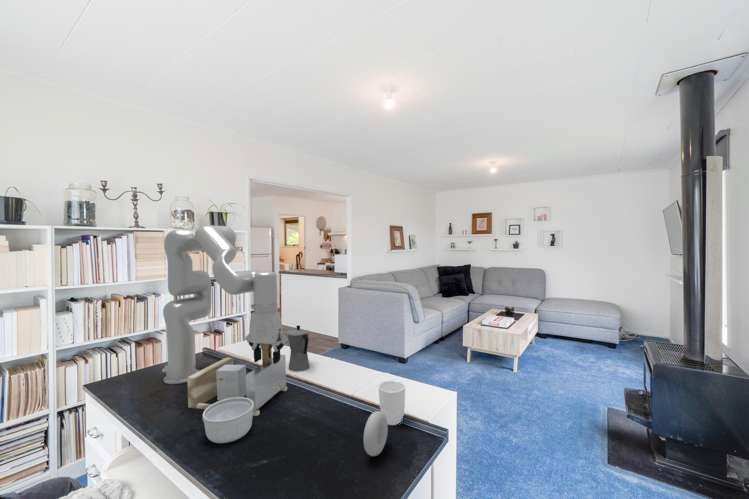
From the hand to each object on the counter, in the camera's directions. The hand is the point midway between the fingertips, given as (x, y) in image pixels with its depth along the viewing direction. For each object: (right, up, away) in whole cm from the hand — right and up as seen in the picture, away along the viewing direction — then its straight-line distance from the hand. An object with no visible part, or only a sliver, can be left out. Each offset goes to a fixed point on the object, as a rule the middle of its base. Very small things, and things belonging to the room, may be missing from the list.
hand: (267, 361), depth 109 cm
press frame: (-9, -14, +3) cm, 17 cm away
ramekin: (-5, -14, -17) cm, 23 cm away
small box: (-13, -14, +4) cm, 20 cm away
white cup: (+41, -13, -12) cm, 45 cm away
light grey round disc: (+37, -14, -27) cm, 48 cm away
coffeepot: (+4, -13, +29) cm, 32 cm away
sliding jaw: (0, -12, 0) cm, 12 cm away
